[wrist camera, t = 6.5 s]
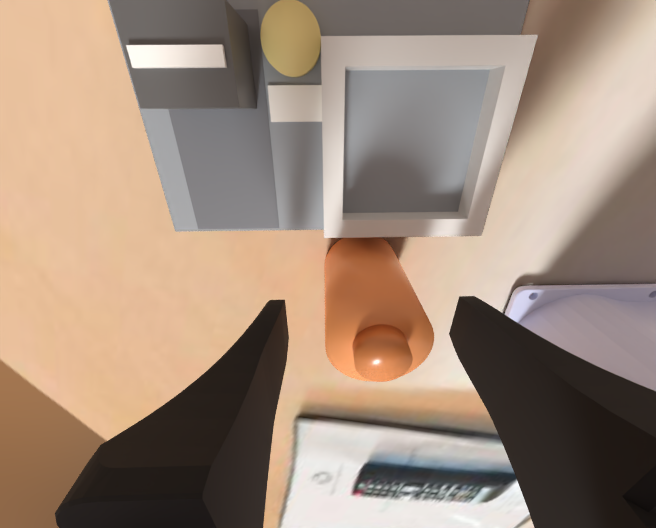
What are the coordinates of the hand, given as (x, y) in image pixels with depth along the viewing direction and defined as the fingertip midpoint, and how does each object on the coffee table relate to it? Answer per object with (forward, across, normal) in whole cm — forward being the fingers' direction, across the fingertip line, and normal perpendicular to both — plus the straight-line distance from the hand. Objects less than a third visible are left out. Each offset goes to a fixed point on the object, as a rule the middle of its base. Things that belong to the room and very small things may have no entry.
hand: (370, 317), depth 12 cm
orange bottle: (+4, 0, 0) cm, 5 cm away
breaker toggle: (+3, +6, -9) cm, 11 cm away
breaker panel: (+4, +2, -7) cm, 8 cm away
